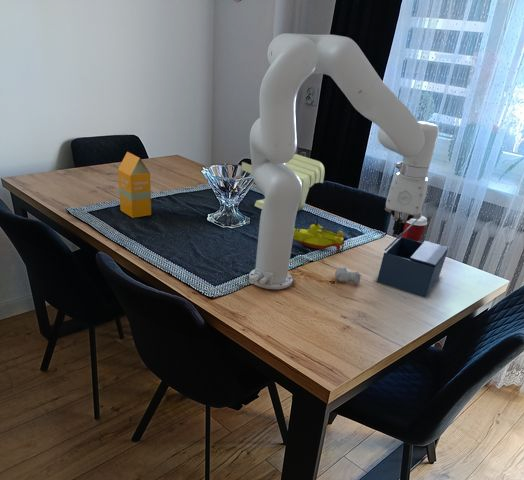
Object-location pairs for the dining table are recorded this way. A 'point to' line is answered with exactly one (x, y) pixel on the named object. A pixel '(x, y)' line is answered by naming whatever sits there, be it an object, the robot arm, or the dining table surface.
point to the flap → (401, 234)
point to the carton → (412, 265)
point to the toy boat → (319, 237)
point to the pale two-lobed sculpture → (347, 275)
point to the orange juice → (134, 187)
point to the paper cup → (415, 229)
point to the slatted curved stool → (299, 175)
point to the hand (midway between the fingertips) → (397, 233)
